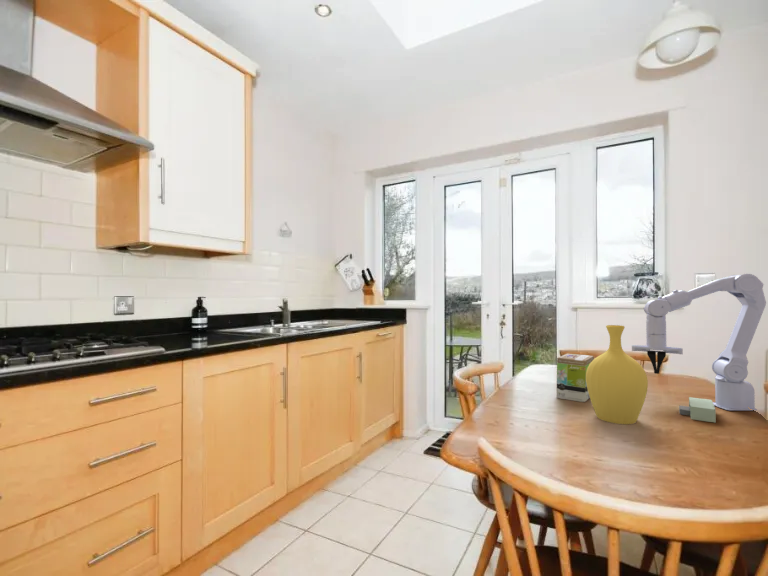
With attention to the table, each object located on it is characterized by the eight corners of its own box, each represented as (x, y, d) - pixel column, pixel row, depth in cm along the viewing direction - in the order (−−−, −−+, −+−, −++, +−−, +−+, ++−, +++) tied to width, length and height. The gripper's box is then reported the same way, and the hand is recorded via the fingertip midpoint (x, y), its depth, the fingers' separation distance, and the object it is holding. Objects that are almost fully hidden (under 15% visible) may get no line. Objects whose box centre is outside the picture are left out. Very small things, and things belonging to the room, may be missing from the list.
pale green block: (690, 419, 118) (690, 406, 118) (689, 408, 128) (688, 397, 128) (715, 422, 114) (715, 409, 114) (711, 411, 125) (711, 399, 125)
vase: (659, 429, 109) (657, 328, 109) (595, 425, 112) (595, 327, 112) (634, 412, 124) (633, 324, 125) (579, 409, 128) (578, 323, 128)
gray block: (679, 415, 122) (679, 409, 122) (679, 411, 126) (679, 405, 127) (708, 419, 118) (708, 413, 118) (707, 415, 122) (707, 409, 122)
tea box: (586, 403, 135) (586, 360, 135) (555, 398, 141) (555, 357, 141) (594, 394, 147) (594, 354, 147) (565, 390, 153) (565, 352, 153)
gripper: (631, 334, 138) (631, 372, 138) (682, 336, 129) (683, 377, 129) (632, 332, 144) (632, 369, 143) (681, 334, 135) (682, 374, 135)
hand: (656, 373), depth 137 cm, fingers closed
